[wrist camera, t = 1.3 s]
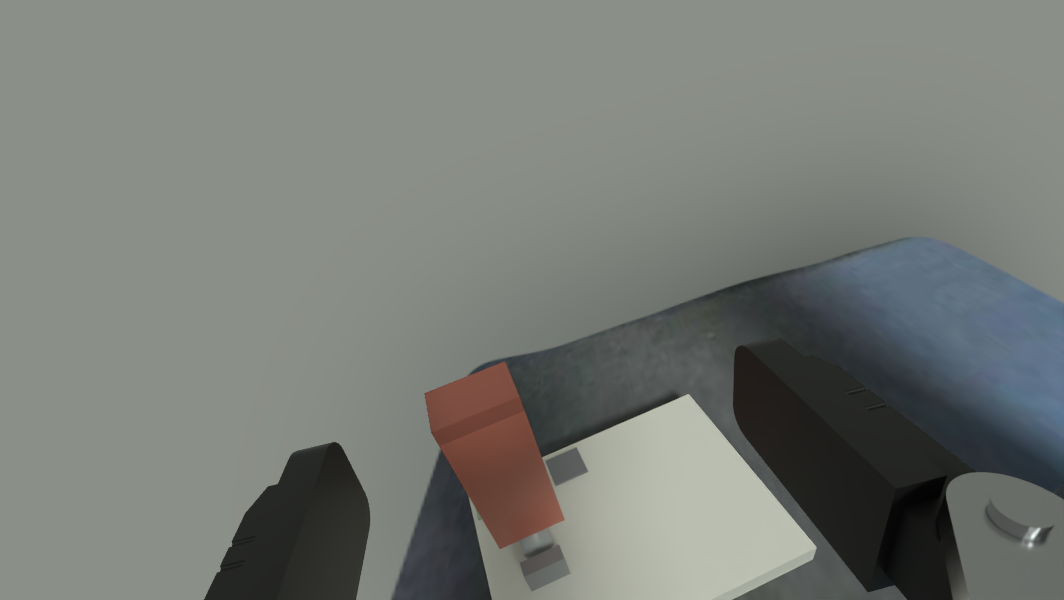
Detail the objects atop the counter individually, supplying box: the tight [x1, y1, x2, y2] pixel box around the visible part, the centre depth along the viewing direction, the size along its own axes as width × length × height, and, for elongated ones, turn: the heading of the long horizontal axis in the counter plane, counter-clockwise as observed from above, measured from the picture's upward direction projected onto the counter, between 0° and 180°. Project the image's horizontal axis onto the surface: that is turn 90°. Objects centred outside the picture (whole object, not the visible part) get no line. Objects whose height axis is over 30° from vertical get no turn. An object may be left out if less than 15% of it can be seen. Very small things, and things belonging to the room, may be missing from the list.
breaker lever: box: [425, 361, 565, 558], centre depth 25 cm, size 4×3×13 cm
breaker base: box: [469, 394, 817, 600], centre depth 28 cm, size 18×12×4 cm
